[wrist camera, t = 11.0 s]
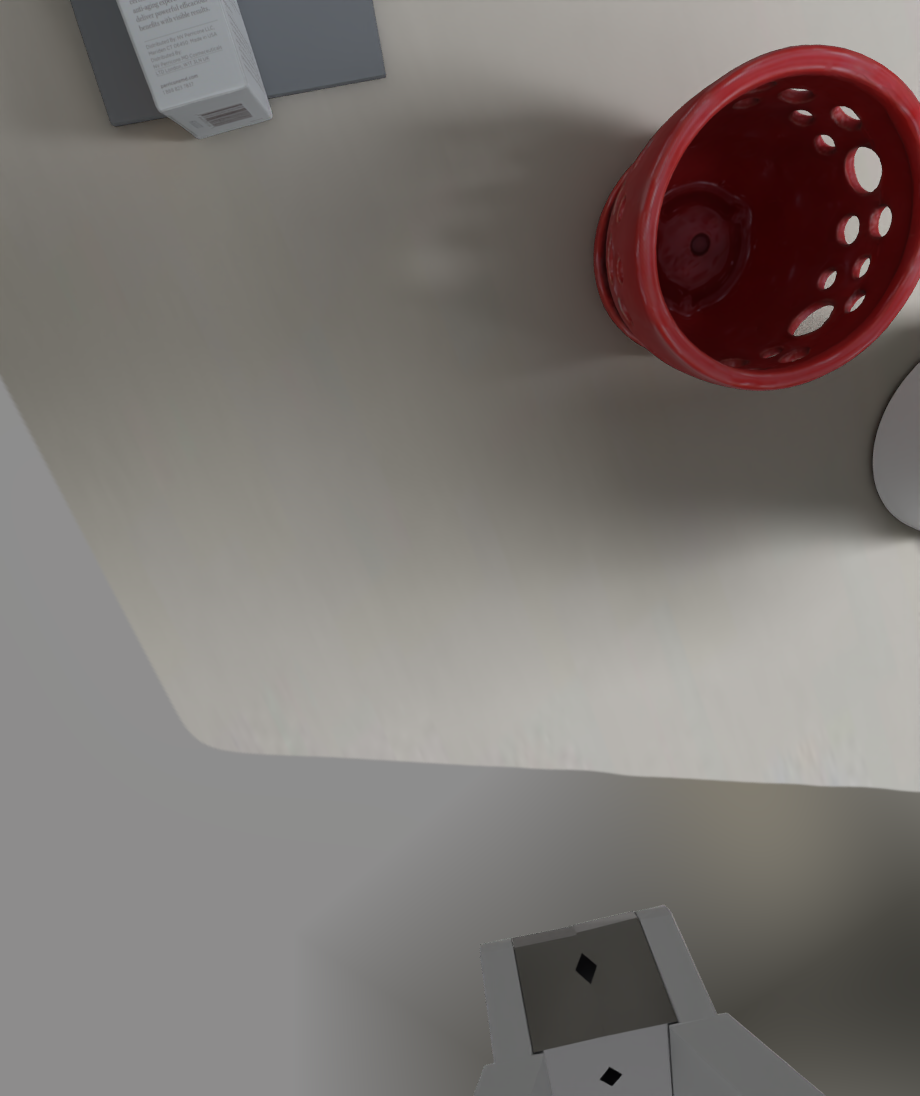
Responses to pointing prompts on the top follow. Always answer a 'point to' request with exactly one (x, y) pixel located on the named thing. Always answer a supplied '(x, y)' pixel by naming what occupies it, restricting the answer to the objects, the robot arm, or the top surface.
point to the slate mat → (276, 39)
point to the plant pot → (766, 221)
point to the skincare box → (197, 63)
